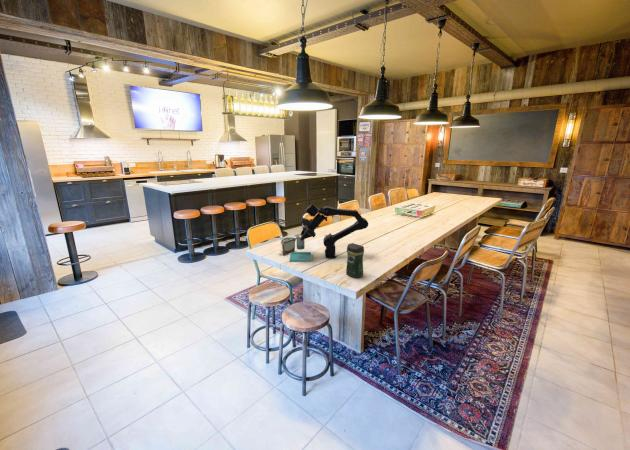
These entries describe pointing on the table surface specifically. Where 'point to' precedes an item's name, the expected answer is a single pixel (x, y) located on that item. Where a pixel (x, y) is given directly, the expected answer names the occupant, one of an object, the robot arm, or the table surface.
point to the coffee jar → (355, 260)
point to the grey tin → (300, 242)
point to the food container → (288, 245)
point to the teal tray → (300, 257)
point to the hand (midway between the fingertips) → (299, 238)
